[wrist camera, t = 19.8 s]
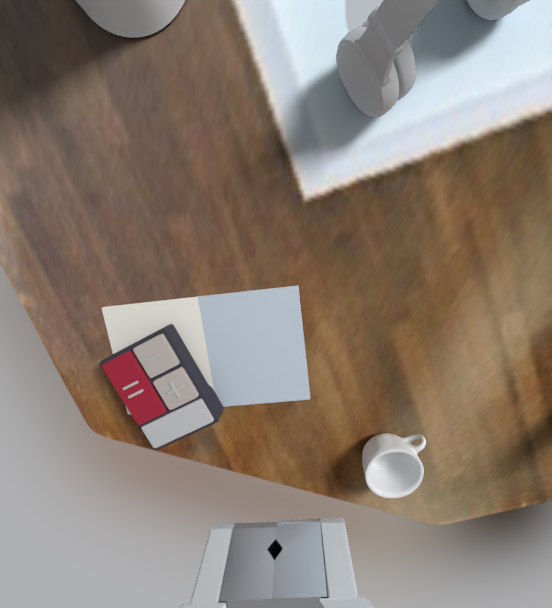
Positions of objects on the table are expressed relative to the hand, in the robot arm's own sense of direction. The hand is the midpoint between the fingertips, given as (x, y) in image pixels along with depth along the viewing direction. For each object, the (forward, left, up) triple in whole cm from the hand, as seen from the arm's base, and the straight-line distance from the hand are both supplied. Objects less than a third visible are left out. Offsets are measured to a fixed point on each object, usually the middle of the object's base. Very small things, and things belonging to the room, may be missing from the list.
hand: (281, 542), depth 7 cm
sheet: (+9, -13, -37) cm, 40 cm away
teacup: (+26, +12, -37) cm, 47 cm away
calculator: (+13, -20, -37) cm, 44 cm away
